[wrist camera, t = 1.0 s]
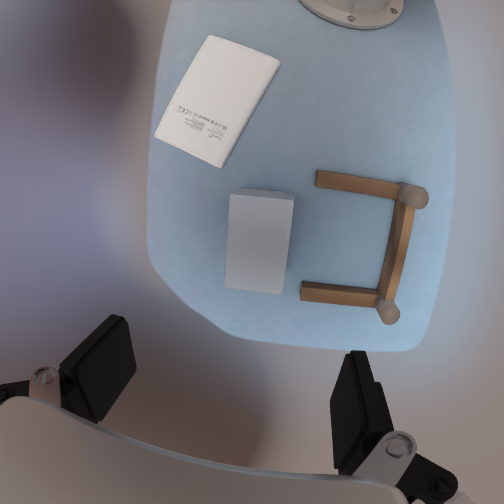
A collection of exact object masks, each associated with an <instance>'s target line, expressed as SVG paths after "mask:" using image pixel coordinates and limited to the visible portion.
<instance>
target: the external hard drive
mask: <svg viewBox="0 0 504 504" xmlns="http://www.w3.org/2000/svg"><path fill="white" fill-rule="evenodd" d="M280 66H281V61H279V60H278V59H276V58H273V57H271V56H269V55H266V54H264V53H261V52H259V51H256V50H254V49H251V48H248V47H246V46H243V45H240V44H238V43H235V42H232V41H229V40H226V39H223V38H220V37H216V36H213V35H209V36H208V38H207V39H206V41H205V42H204V44H203V45H202V47H201V49H200V50H199V52H198V53H197V55H196V57H195V58H194V60H193V62H192V63H191V65H190V67H189V68H188V70H187V72H186V74H185V76H184V77H183V79H182V81H181V83H180V84H179V86H178V88H177V90H176V92H175V94H174V96H173V98H172V100H171V101H170V103H169V105H168V107H167V109H166V111H165V113H164V115H163V118H162V120H161V122H160V124H159V126H158V128H157V130H156V132H155V134H154V137H156V138H158V139H160V140H162V141H164V142H166V143H169V144H171V145H173V146H175V147H177V148H179V149H181V150H183V151H185V152H187V153H189V154H191V155H193V156H195V157H197V158H199V159H201V160H203V161H205V162H207V163H209V164H211V165H213V166H215V167H217V168H220V169H222V168H223V166H224V164H225V163H226V161H227V159H228V157H229V155H230V153H231V151H232V149H233V147H234V146H235V144H236V142H237V140H238V138H239V136H240V135H241V133H242V131H243V129H244V127H245V126H246V124H247V122H248V120H249V118H250V117H251V115H252V113H253V111H254V109H255V108H256V106H257V104H258V102H259V101H260V99H261V97H262V96H263V94H264V92H265V90H266V89H267V87H268V85H269V84H270V82H271V80H272V79H273V77H274V75H275V74H276V72H277V70H278V69H279V67H280Z"/></svg>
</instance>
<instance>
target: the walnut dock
mask: <svg viewBox="0 0 504 504" xmlns="http://www.w3.org/2000/svg"><path fill="white" fill-rule="evenodd" d="M315 186H316V187H323V188H330V189H337V190H343V191H350V192H356V193H362V194H368V195H374V196H379V197H385V198H390V199H395V200H396V201H395V207H394V213H393V219H392V225H391V230H390V235H389V240H388V245H387V250H386V254H385V259H384V263H383V268H382V272H381V276H380V280H379V284H378V288H377V289H368V288H358V287H349V286H340V285H331V284H322V283H313V282H305V281H302V284H301V290H300V300H302V301H311V302H320V303H330V304H340V305H350V306H360V307H372V308H376V310H377V312H378V314H379V316H380V318H381V320H382V322H383V323H384V324H386V325H391V324H394V323H395V322H396V321H397V320H398V319H399V317H400V311H399V309H398V308H397V306H396V305H395V303H394V298H395V295H396V291H397V288H398V284H399V280H400V277H401V273H402V269H403V265H404V261H405V257H406V253H407V248H408V244H409V239H410V234H411V229H412V224H413V219H414V213H415V208H416V209H423V208H424V207H425V206H426V205H427V203H428V200H429V196H428V192H427V191H426V189H424V188H423V187H420V186H416V185H411V184H407V183H402V182H400V183H397V184H395V183H390V182H385V181H380V180H375V179H369V178H364V177H358V176H352V175H346V174H340V173H333V172H326V171H319V170H317V174H316V183H315Z"/></svg>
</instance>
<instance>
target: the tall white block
mask: <svg viewBox="0 0 504 504" xmlns="http://www.w3.org/2000/svg"><path fill="white" fill-rule="evenodd" d="M293 207H294V193H290V192H281V191H272V190H262V189H252V188H241V189H239V190H237V191H235V192H233V193H231V194H230V200H229V215H228V232H227V249H226V267H225V288H232V289H239V290H246V291H254V292H261V293H269V294H277V295H282V294H283V287H284V280H285V272H286V265H287V257H288V249H289V241H290V233H291V225H292V216H293Z"/></svg>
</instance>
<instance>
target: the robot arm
mask: <svg viewBox="0 0 504 504" xmlns="http://www.w3.org/2000/svg"><path fill="white" fill-rule="evenodd" d="M300 2H301V3H302V4H303V5H304V6H305V7H307V8H308V9H309V10H310V11H311V12H313V13H315V14H316V15H318V16H319V17H321V18H323V19H325V20H328V21H330V22H332V23H335V24H338V25H341V26H345V27H349V28H354V29H377V28H383V27H385V26H388V25H390V24H392V23H393V22H394V21H395V20H397V18H398V17H399V16H400V14H401V12H402V10H403V7H404V0H300ZM59 366H60V369H59V370H57V369H56V368H55V367H53V366H50V365H44V366H40V367H38V368H36V369H35V370H34V371H33V372H32V374H31V377H30V380H27V381H20V382H14V383H7V384H2V385H0V504H475V503H474V502H473V501H472V500H471V499H470V498H469V497H468V496H467V495H466V493H465V492H464V491H462V492H461V493H460V492H459V491H458V490H457V489H458V481H457V478H456V477H455V476H454V474H452V473H451V472H450V471H447V470H446V469H444V468H442V467H440V466H438V465H437V464H435V463H433V462H431V461H429V460H428V459H426V458H424V457H422V456H421V455H419V454H417V453H416V451H417V444H416V441H415V439H414V438H413V437H412V436H411V435H409V434H408V433H406V432H403V431H394V428H393V424H392V420H391V417H390V413H389V409H388V406H387V403H386V399H385V396H384V392H383V389H382V386H381V383H380V382H375V381H374V378H373V374H372V371H371V368H370V365H369V361H368V358H367V355H366V352H365V351H356V350H352V351H351V352H350V354H346V355H345V358H344V361H343V364H342V367H341V370H340V373H339V376H338V379H337V382H336V384H335V388H334V390H333V393H332V396H331V399H330V414H331V426H332V441H333V459H334V468H335V469H338V473H339V475H331V474H306V473H291V472H280V471H269V470H260V469H253V468H245V467H238V466H233V465H227V464H222V463H217V462H212V461H207V460H202V459H198V458H194V457H190V456H186V455H182V454H179V453H175V452H171V451H168V450H165V449H161V448H158V447H155V446H152V445H149V444H146V443H143V442H140V441H137V440H134V439H132V438H129V437H126V436H124V435H121V434H119V433H116V432H114V431H111V430H109V429H106V428H104V427H102V426H99V425H97V423H98V422H99V421H102V420H103V419H104V417H105V416H106V414H107V413H108V411H109V410H110V408H111V407H112V405H113V404H114V403H115V401H116V400H117V398H118V397H119V395H120V394H121V392H122V391H123V389H124V388H125V387H126V385H127V383H128V382H129V381H130V379H131V378H132V376H133V375H134V374H135V371H136V362H135V357H134V352H133V348H132V343H131V337H130V332H129V326H128V322H127V321H125V319H124V317H122V316H118V315H114V314H112V315H110V316H109V317H108V318H107V319H106V320H105V321H104V322H103V323H101V325H100V326H98V327H97V328H96V329H95V330H94V331H93V332H92V333H91V334H90V335H89V336H88V337H87V338H86V339H85V340H84V341H83V342H82V343H81V344H80V345H79V346H78V347H77V348H76V349H75V350H74V351H73V352H72V353H70V354H69V355H68V356H67V357H66V359H65V360H63V362H62V363H61V364H60V365H59Z"/></svg>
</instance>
